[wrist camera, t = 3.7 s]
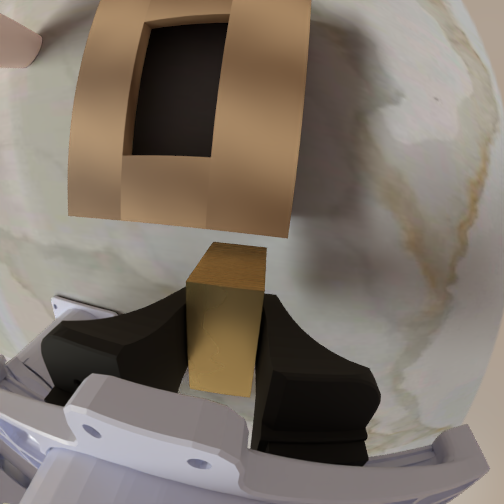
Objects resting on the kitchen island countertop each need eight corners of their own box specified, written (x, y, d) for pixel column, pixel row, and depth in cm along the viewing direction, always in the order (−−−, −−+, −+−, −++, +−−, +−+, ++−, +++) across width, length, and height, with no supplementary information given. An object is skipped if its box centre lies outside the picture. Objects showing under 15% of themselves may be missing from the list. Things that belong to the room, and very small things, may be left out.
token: (255, 335, 14) (249, 397, 10) (209, 330, 14) (189, 388, 10) (266, 247, 13) (264, 291, 8) (213, 241, 13) (186, 281, 9)
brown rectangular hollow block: (283, 217, 17) (287, 238, 12) (111, 201, 17) (68, 215, 13) (303, 17, 13) (311, -23, 8) (135, 22, 13) (102, -5, 8)
